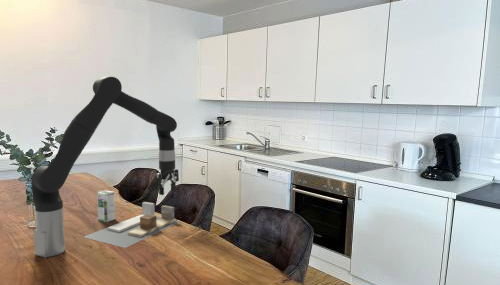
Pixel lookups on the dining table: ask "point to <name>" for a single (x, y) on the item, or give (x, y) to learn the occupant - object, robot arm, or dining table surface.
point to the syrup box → (106, 206)
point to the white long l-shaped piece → (146, 209)
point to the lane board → (123, 235)
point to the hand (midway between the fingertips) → (167, 192)
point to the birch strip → (157, 222)
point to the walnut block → (148, 222)
